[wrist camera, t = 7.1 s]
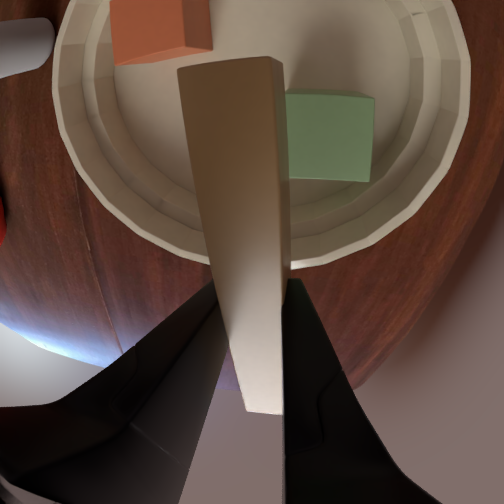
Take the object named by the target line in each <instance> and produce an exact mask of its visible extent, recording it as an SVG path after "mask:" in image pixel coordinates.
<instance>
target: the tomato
mask: <svg viewBox="0 0 504 504" xmlns="http://www.w3.org/2000/svg"><path fill="white" fill-rule="evenodd" d="M6 228H7V225H6V220H5V216H4V208H3V204H2V199H1V197H0V246H1V245H2V242H3V240H4V238H5V234H6Z"/></svg>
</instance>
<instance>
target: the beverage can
mask: <svg viewBox="0 0 504 504" xmlns="http://www.w3.org/2000/svg"><path fill="white" fill-rule="evenodd" d="M54 43H55V31H54V28H53V25H52V24H51V22H50V21H49V20H48V19H46V18H29V19H19V20H11V21H3V22H0V78H3V77H6V76H10V75H13V74H17V73H21V72H25V71H29V70H33V69H36V68H38V67H40V66H41V65H42V64H44V62H45V61H46V60H47V58H48V57H49V56H50V54H51V52H52V49H53V47H54Z"/></svg>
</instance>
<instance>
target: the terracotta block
mask: <svg viewBox="0 0 504 504" xmlns="http://www.w3.org/2000/svg"><path fill="white" fill-rule="evenodd" d="M109 5H110V24H111V37H112V48H113V57H114V65H115V66H121V65H132V64H145V63H155V62H159V61H163V60H168V59H172V58H177V57H182V56H187V55H192V54H198V53H204V52H211V51H213V46H212V35H211V23H210V11H209V0H111V1H110V2H109Z"/></svg>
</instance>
